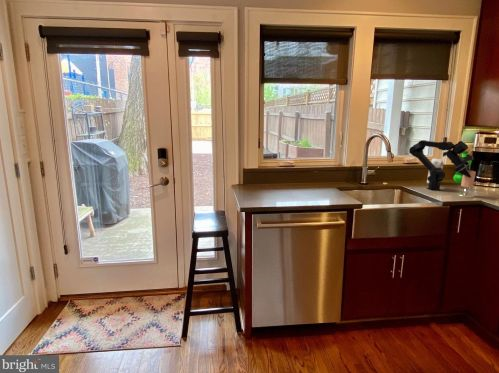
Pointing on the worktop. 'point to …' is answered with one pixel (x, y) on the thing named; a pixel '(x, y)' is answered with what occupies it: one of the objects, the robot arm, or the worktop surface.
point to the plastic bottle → (459, 176)
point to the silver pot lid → (465, 194)
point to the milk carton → (436, 165)
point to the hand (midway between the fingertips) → (471, 176)
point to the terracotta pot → (468, 179)
